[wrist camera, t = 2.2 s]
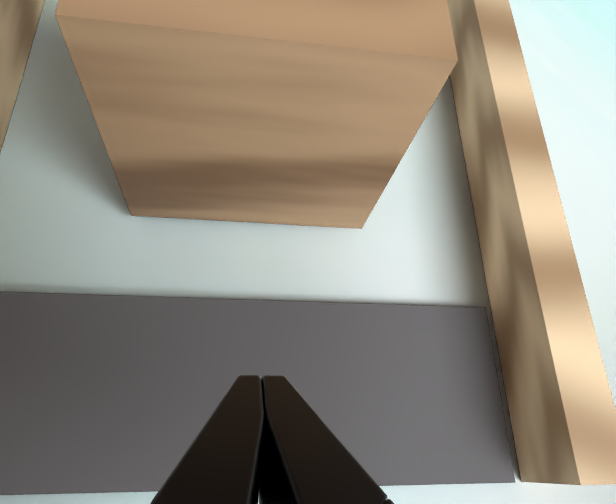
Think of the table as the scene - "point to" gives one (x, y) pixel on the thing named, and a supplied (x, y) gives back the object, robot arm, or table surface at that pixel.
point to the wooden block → (258, 101)
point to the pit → (222, 373)
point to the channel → (491, 245)
